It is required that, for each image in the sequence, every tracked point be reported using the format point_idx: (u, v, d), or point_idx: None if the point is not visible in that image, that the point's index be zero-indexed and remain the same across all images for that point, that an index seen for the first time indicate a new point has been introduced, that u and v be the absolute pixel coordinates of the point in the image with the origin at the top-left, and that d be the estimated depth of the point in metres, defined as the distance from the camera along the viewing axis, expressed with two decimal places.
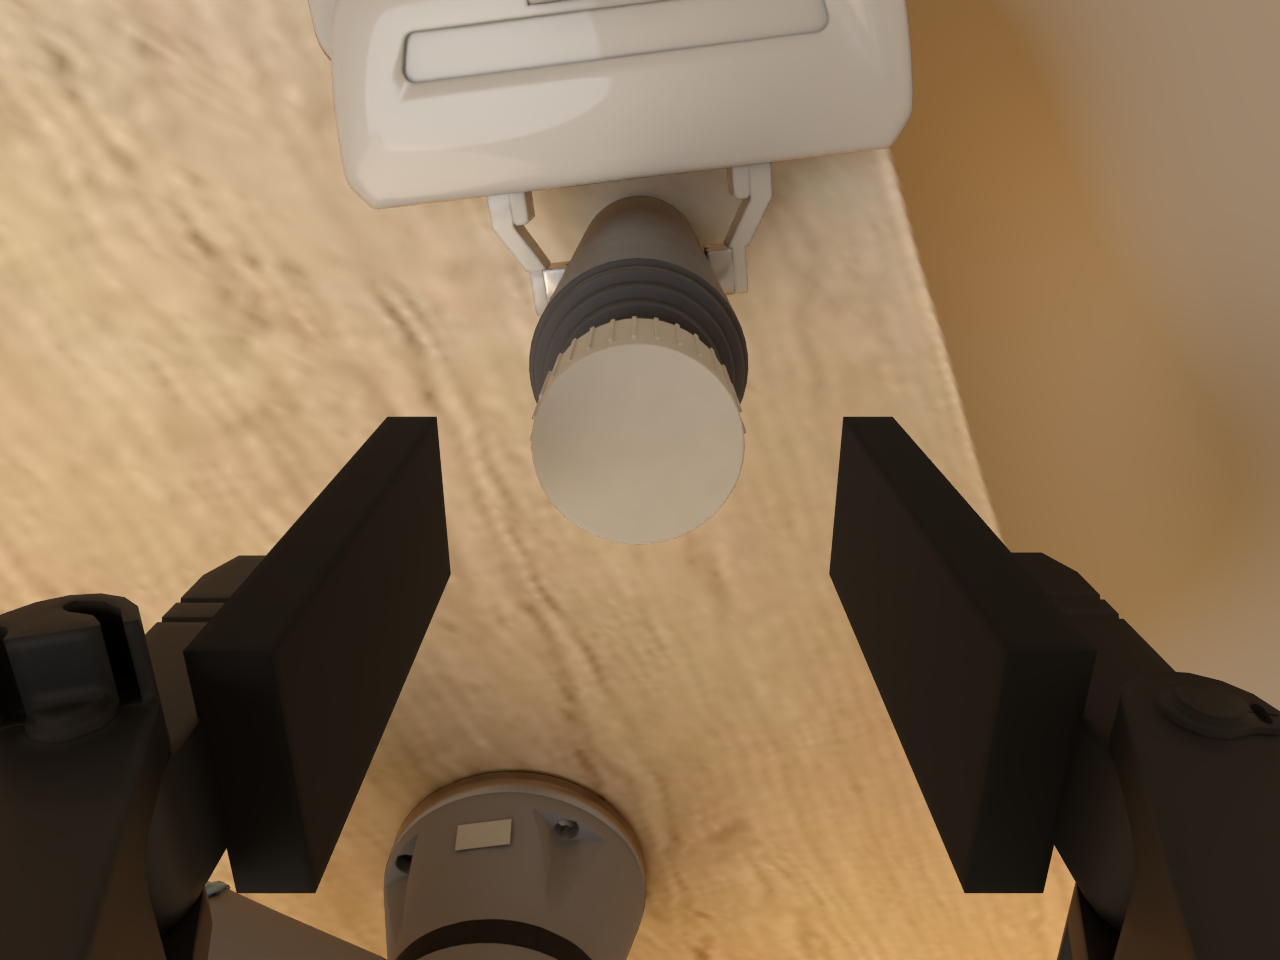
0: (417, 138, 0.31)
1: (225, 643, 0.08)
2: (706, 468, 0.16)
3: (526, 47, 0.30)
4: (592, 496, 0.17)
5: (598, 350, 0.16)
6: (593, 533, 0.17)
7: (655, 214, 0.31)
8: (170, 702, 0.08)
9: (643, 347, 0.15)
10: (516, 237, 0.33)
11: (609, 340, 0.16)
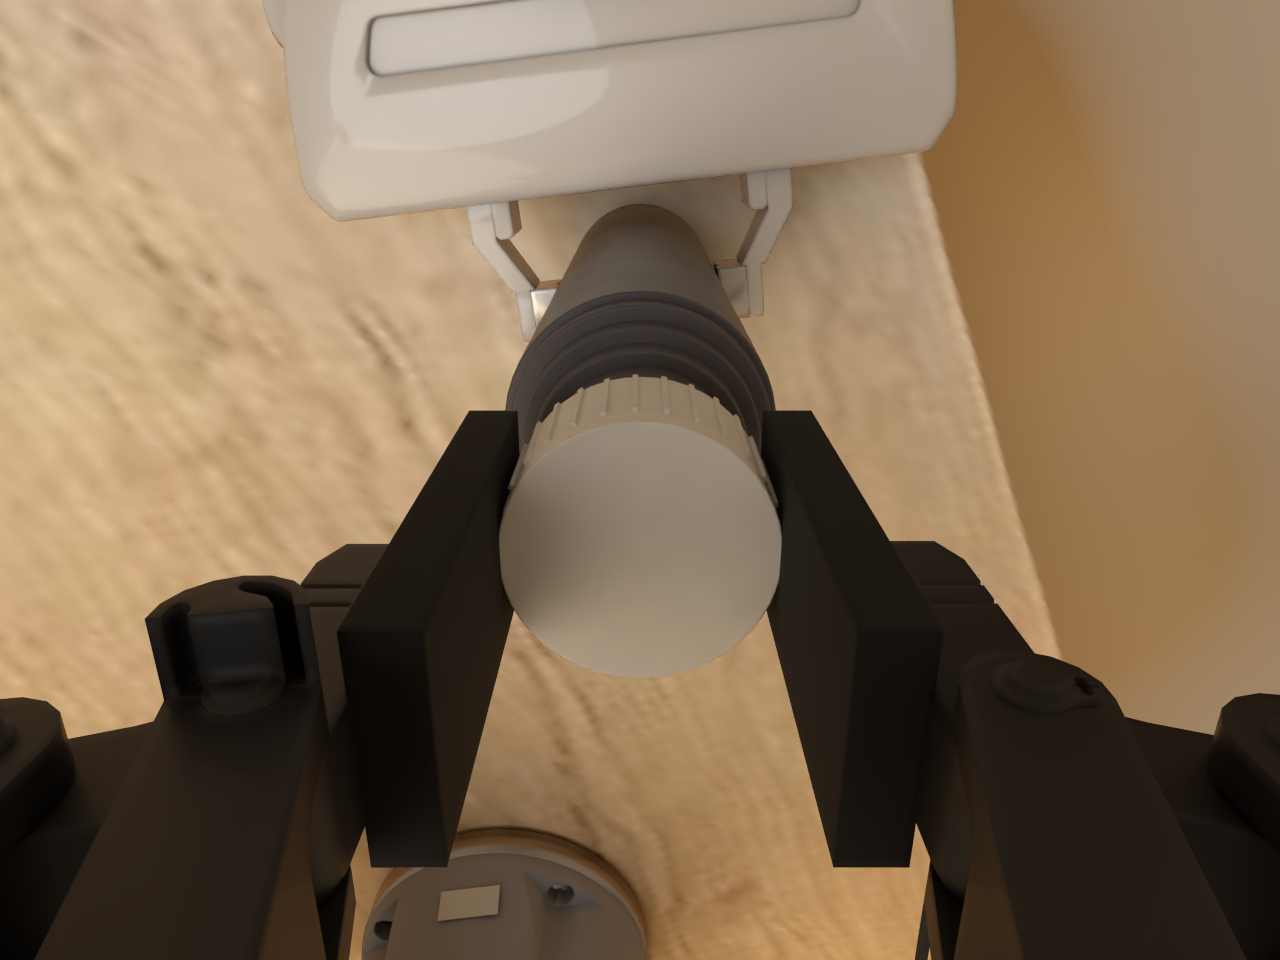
0: (384, 139, 0.27)
1: (375, 624, 0.08)
2: (732, 583, 0.12)
3: (509, 34, 0.26)
4: (579, 618, 0.12)
5: (586, 430, 0.11)
6: (581, 664, 0.13)
7: (659, 227, 0.27)
8: None
9: (647, 426, 0.11)
10: (500, 254, 0.29)
11: (601, 414, 0.12)
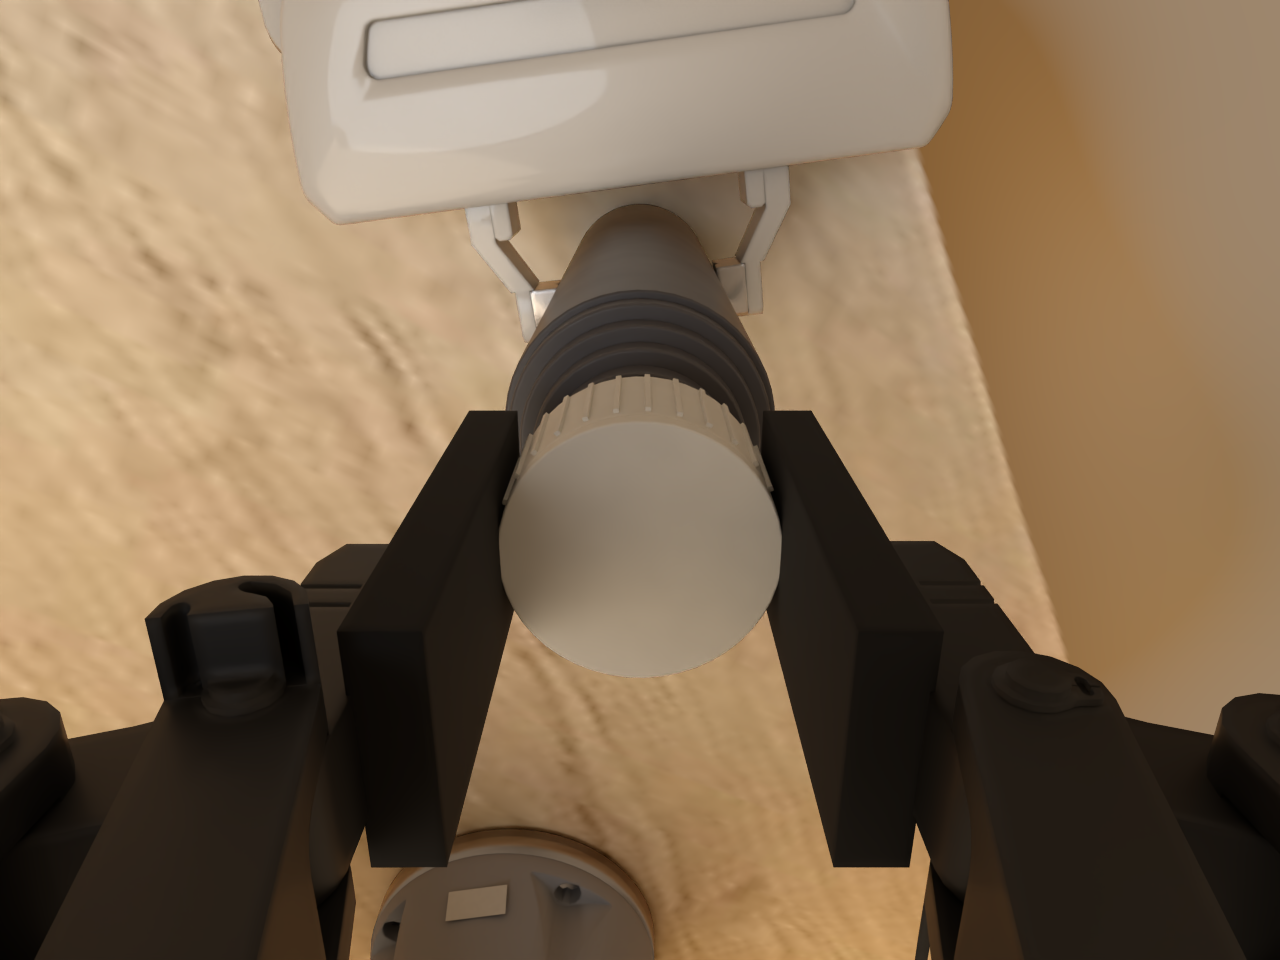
0: (383, 143, 0.27)
1: (375, 624, 0.08)
2: (640, 467, 0.12)
3: (506, 36, 0.26)
4: (723, 593, 0.12)
5: (531, 630, 0.13)
6: (776, 579, 0.12)
7: (657, 227, 0.27)
8: None
9: (508, 585, 0.12)
10: (499, 255, 0.29)
11: None
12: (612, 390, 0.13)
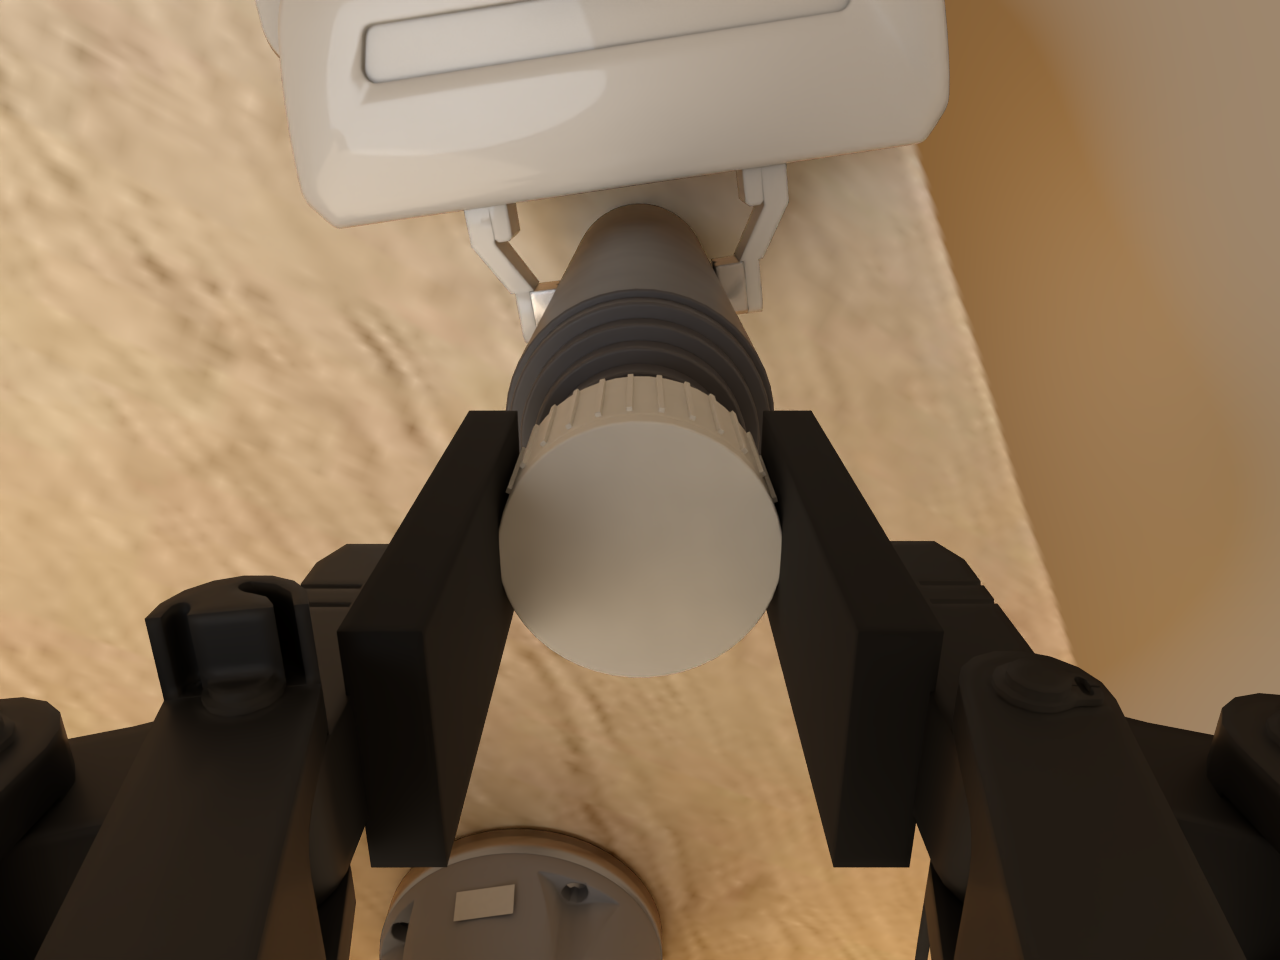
0: (382, 146, 0.27)
1: (375, 624, 0.08)
2: (548, 581, 0.12)
3: (503, 38, 0.26)
4: (655, 471, 0.12)
5: (750, 628, 0.13)
6: (622, 425, 0.11)
7: (656, 226, 0.27)
8: None
9: (705, 658, 0.13)
10: (498, 256, 0.29)
11: None
12: None
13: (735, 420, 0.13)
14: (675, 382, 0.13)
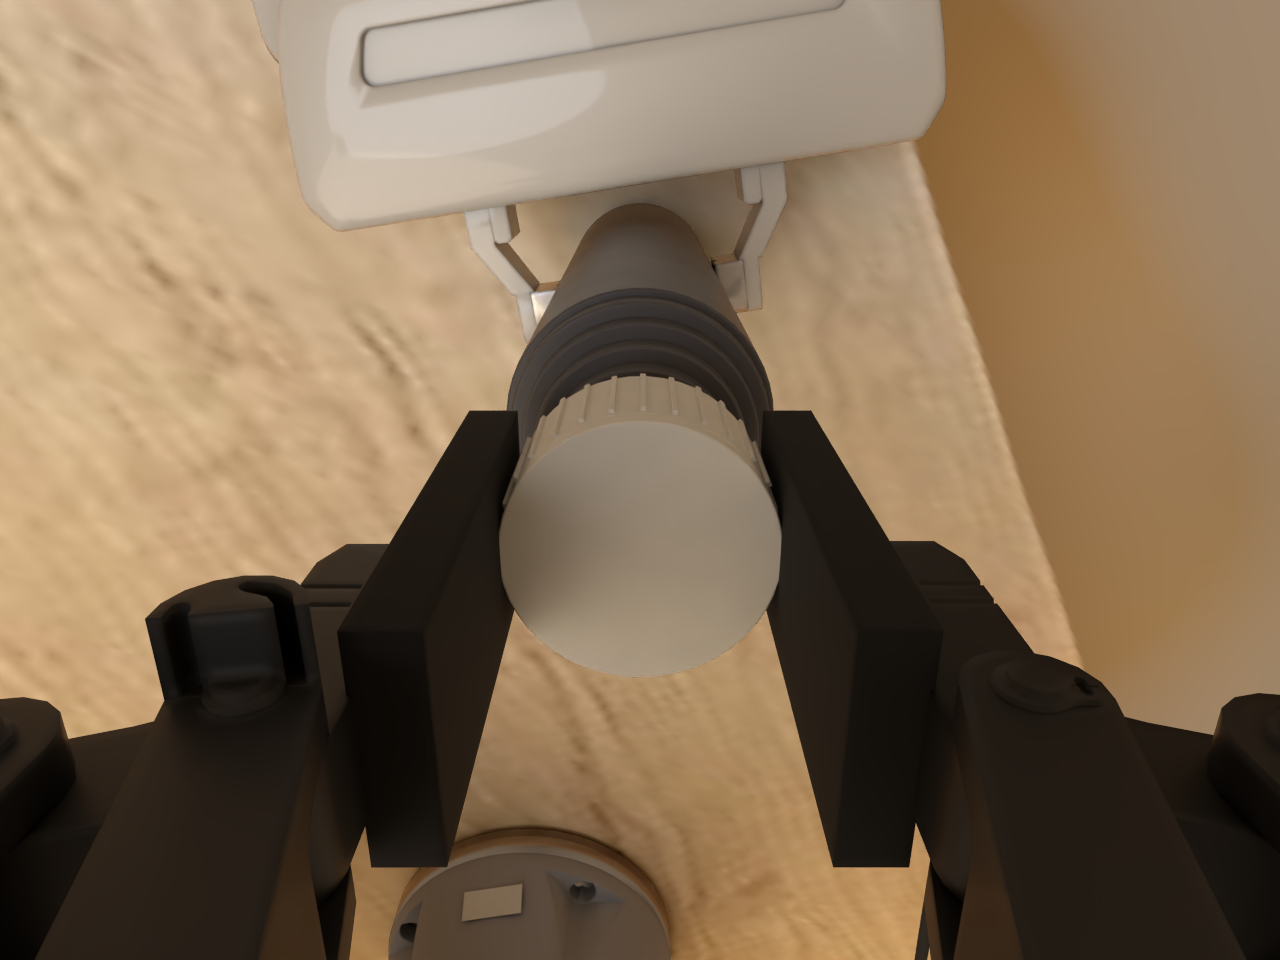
0: (381, 149, 0.27)
1: (375, 623, 0.08)
2: (690, 628, 0.12)
3: (500, 40, 0.26)
4: (548, 568, 0.12)
5: (691, 428, 0.11)
6: (514, 605, 0.12)
7: (655, 225, 0.28)
8: None
9: (739, 463, 0.12)
10: (498, 257, 0.29)
11: (703, 422, 0.12)
12: None
13: (522, 451, 0.13)
14: None
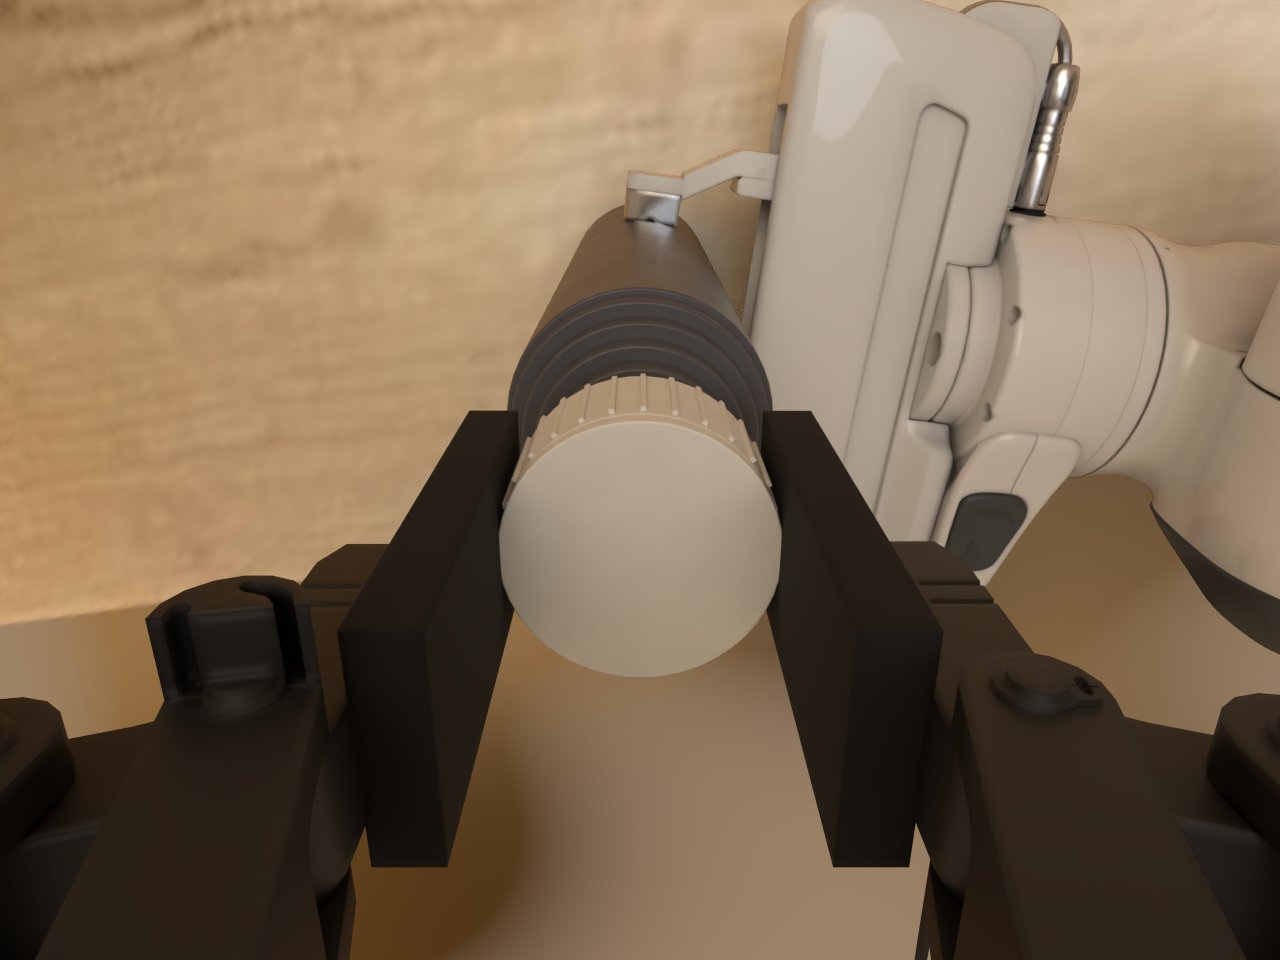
0: (866, 97, 0.26)
1: (375, 624, 0.08)
2: (690, 628, 0.12)
3: (909, 248, 0.28)
4: (548, 568, 0.12)
5: (691, 428, 0.11)
6: (514, 605, 0.12)
7: None
8: None
9: (739, 463, 0.12)
10: (724, 175, 0.28)
11: (703, 422, 0.12)
12: None
13: (522, 451, 0.13)
14: None
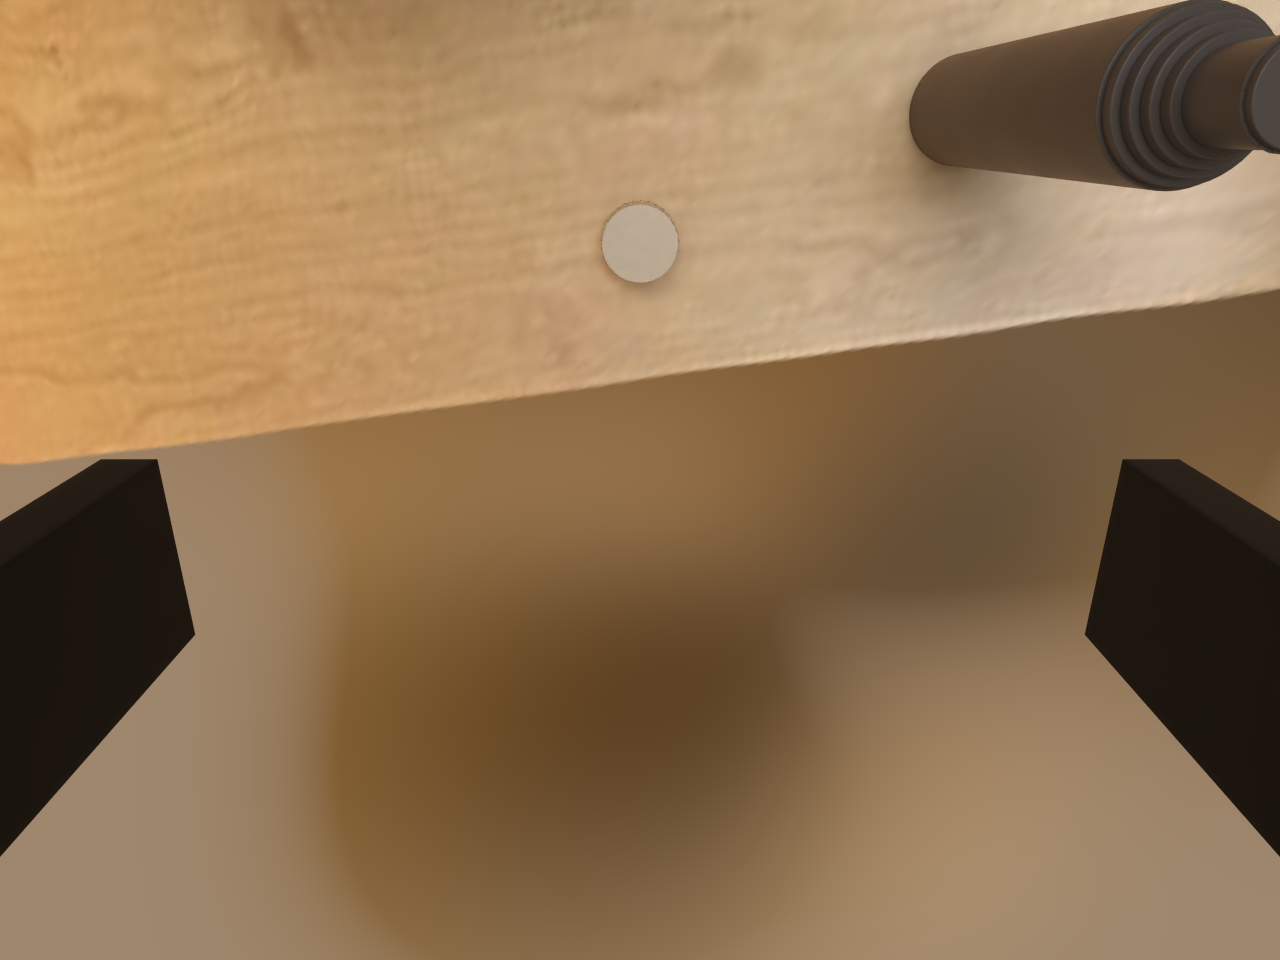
0: None
1: None
2: (653, 266, 0.46)
3: None
4: (615, 247, 0.45)
5: (653, 207, 0.45)
6: (606, 259, 0.46)
7: None
8: None
9: (665, 216, 0.45)
10: None
11: (656, 207, 0.45)
12: None
13: (606, 222, 0.46)
14: None
